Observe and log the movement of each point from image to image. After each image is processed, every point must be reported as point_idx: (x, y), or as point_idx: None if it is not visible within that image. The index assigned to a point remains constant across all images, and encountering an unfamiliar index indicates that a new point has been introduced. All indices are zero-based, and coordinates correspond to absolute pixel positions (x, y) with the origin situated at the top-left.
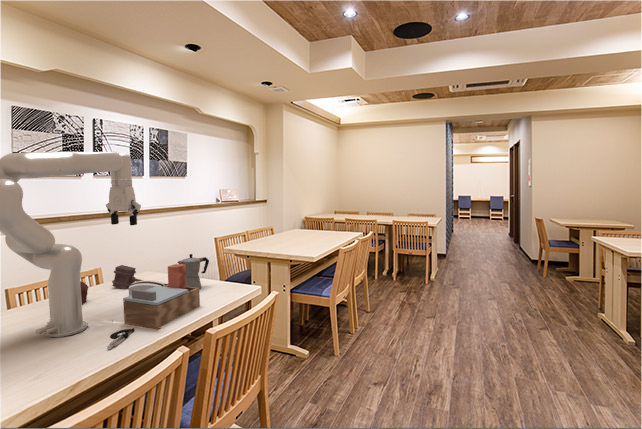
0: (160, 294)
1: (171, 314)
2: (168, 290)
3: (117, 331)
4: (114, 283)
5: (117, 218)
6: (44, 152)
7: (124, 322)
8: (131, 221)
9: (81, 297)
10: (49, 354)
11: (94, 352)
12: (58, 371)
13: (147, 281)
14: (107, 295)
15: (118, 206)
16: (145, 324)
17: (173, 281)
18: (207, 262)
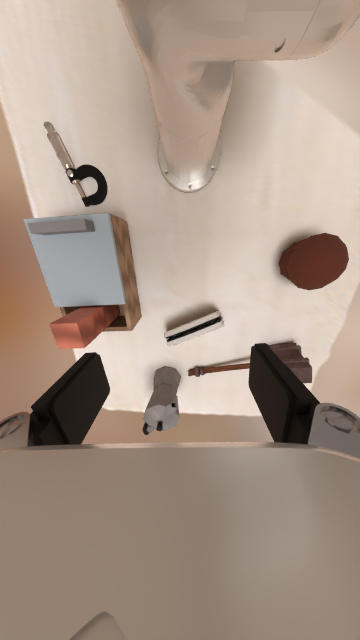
0: (67, 263)
1: None
2: (79, 289)
3: (105, 190)
4: (293, 346)
5: (264, 411)
6: None
7: (125, 221)
8: (72, 373)
9: (284, 262)
10: (114, 53)
11: (59, 105)
12: (31, 5)
13: (189, 334)
14: (272, 312)
15: (68, 595)
16: None
17: (82, 311)
18: (144, 425)
